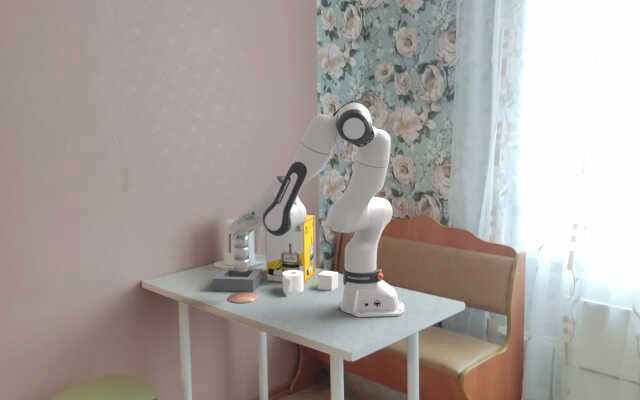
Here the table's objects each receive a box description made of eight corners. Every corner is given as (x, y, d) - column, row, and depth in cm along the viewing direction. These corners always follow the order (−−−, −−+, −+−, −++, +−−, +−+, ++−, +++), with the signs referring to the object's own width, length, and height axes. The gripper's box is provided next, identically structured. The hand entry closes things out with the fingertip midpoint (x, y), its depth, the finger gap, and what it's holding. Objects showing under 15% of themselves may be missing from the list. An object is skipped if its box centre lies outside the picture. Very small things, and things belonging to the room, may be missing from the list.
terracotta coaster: (261, 294, 217) (261, 292, 217) (254, 303, 206) (254, 302, 206) (233, 293, 218) (233, 291, 218) (224, 302, 208) (224, 301, 208)
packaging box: (315, 272, 246) (315, 215, 242) (304, 283, 230) (303, 222, 226) (280, 269, 250) (279, 213, 246) (266, 280, 234) (265, 220, 231)
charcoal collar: (262, 280, 234) (262, 268, 233) (253, 292, 219) (253, 279, 219) (224, 279, 236) (224, 267, 235) (213, 290, 221) (212, 278, 221)
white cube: (317, 289, 223) (317, 274, 222) (324, 284, 228) (324, 270, 227) (331, 291, 220) (331, 276, 219) (338, 286, 225) (338, 272, 224)
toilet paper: (286, 296, 214) (286, 279, 213) (280, 288, 225) (280, 271, 223) (307, 294, 216) (307, 277, 215) (300, 286, 227) (300, 269, 226)
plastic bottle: (234, 274, 206) (232, 220, 203) (231, 269, 213) (230, 216, 209) (251, 272, 208) (250, 219, 205) (248, 267, 215) (247, 215, 211)
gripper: (249, 222, 193) (227, 247, 199) (281, 212, 210) (260, 236, 216) (238, 208, 194) (216, 234, 200) (271, 200, 212) (250, 224, 218)
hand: (239, 235), depth 208 cm, fingers closed on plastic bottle, 6 cm apart
